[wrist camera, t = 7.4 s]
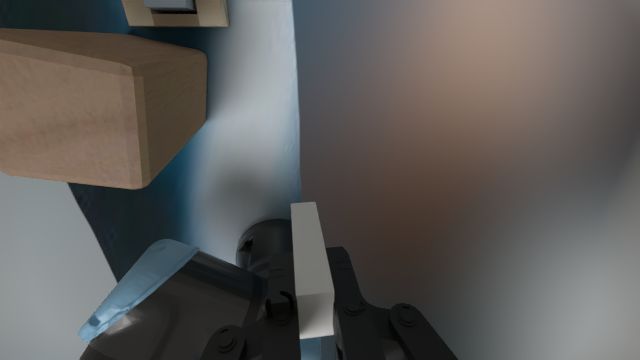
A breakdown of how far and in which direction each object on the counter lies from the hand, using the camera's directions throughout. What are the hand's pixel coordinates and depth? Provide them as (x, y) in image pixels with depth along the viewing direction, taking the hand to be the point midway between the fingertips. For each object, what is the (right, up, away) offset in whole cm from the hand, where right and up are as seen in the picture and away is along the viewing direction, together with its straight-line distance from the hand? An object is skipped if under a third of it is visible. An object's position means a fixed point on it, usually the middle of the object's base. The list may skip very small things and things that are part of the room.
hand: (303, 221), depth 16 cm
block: (-19, +16, +19) cm, 31 cm away
